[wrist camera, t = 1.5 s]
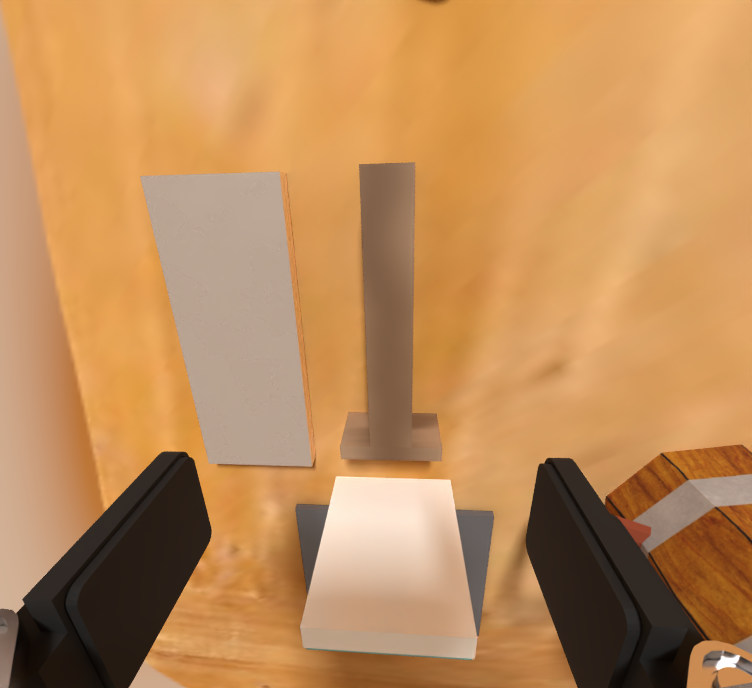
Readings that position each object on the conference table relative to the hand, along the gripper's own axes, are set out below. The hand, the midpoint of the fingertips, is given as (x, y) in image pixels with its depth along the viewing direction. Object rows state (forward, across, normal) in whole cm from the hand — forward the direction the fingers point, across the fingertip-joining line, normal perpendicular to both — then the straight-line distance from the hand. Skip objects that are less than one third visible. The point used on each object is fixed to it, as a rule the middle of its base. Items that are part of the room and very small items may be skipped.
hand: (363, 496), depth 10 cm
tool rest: (+15, +10, +1) cm, 18 cm away
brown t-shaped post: (+15, 0, 0) cm, 15 cm away
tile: (+15, 0, +14) cm, 20 cm away
